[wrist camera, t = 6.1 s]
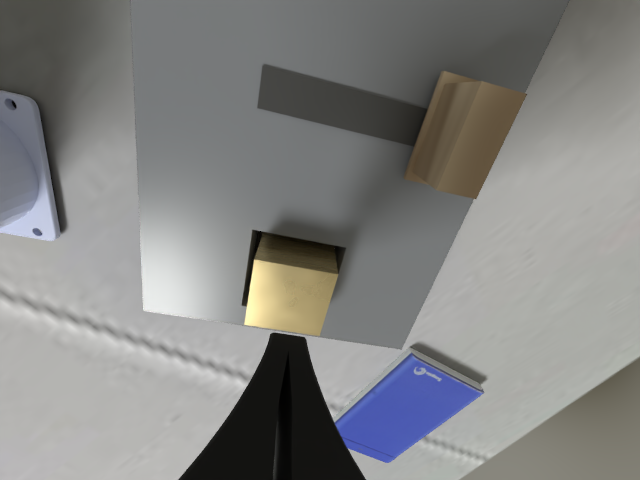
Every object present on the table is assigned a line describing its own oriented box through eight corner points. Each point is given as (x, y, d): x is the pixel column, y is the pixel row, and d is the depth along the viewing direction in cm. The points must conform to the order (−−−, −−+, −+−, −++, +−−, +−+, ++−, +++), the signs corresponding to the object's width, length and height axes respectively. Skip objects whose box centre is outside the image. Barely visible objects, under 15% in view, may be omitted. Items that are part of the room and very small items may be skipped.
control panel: (165, 281, 20) (142, 312, 17) (165, -441, 9) (98, -693, 6) (390, 318, 22) (401, 350, 19) (624, -227, 11) (735, -339, 8)
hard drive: (413, 357, 22) (321, 439, 27) (486, 395, 25) (390, 465, 29) (407, 341, 24) (321, 422, 28) (476, 378, 26) (386, 448, 30)
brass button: (253, 290, 18) (244, 324, 15) (263, 231, 16) (254, 259, 14) (318, 300, 18) (319, 336, 16) (333, 245, 17) (338, 274, 14)
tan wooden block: (403, 177, 14) (426, 199, 11) (441, 71, 12) (482, 64, 9) (442, 186, 14) (476, 210, 11) (486, 84, 12) (539, 81, 9)
